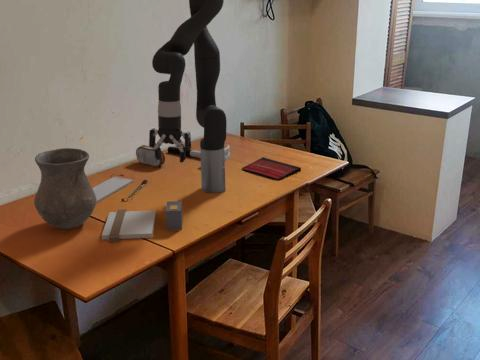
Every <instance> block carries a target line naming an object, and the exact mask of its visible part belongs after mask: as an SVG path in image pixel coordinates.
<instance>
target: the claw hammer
mask: <svg viewBox="0 0 480 360" xmlns="http://www.w3.org/2000/svg"><path fill="white" fill-rule="evenodd" d="M230 149H231V146H230V145H229V144H227V146H226V147H224V156H225V162H226V161H228V159H229V160H230V158H231V152H230ZM180 152H181V151H180V150H179V148H178V147H176V146H175V147H174V146H168V147H167V154H172V155H174V154H175V155H179V156H180ZM186 157H194V158H201V152H200V150H195V149H189V150H188V151H186Z"/></svg>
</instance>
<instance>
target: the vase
mask: <svg viewBox="0 0 480 360" xmlns="http://www.w3.org/2000/svg"><path fill="white" fill-rule="evenodd" d="M89 159H90V154H89V152H87V151H86V150H83V149H81V148H80V149H79V148H71V147H66V148H65V147H64V148H63V147H62V148H57V149H51V150H46V151H43V152H40V153H38V154H37V155H36V156H35V157H34V161H35V164H36V165H37V167H38V168H39V170H40V175H41V176H40V177H41V178H40V182H39V185H38V189H37V192H36V193H35V195H34V199H33V200H34V202H33V203H34V208H35V209H36V212H37V214H38V215H39V216H40V217H41V219H42V220H43V221H44V222H46V223H47V224H48V225H50V226H51V227H55V228H57V229H59V230H64V231H65V230H66V231H67V230H73V229H75V228H78V227H80V226H82V225H83V224H84V223H85V222H86V221H87V220H89V218H90V217H91V215H92V214H93V212H94V210H95V208H96V205H97V203H96V200H97V199H96V195H95V193H94V191H93V189H92V188H93V187H92V185H91V184H90V181H89V179H88V177H87V174H86V171H85V167H86V165H87V162H88V161H89Z"/></svg>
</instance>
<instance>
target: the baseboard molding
mask: <svg viewBox="0 0 480 360" xmlns="http://www.w3.org/2000/svg"><path fill="white" fill-rule="evenodd" d="M112 175H114V174H111V175H110V177H109V179H107V180H105V181H103V182H102V183H101V182H100V183H99V184H97V185H96V186H94V187H92V189H93V191H94V193H95V195H96V199H97V200H96V204H98V203H99V201H100V202H101V201H103V200H104V199H107V198H108V197H110V196H111V194H112V195H113V194H115V193H117V192H119V191H121V190H122V189H124V188H126V187H127V186H129V185H130V183H131V184H132V183H134V179H132V178H131V177H129V176H128V178H123V177H125V175H124V174H120V176H119V175H118V174H116V176H112ZM130 178H131V179H130ZM128 184H129V185H128ZM123 187H124V188H123ZM116 191H117V192H116Z"/></svg>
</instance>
